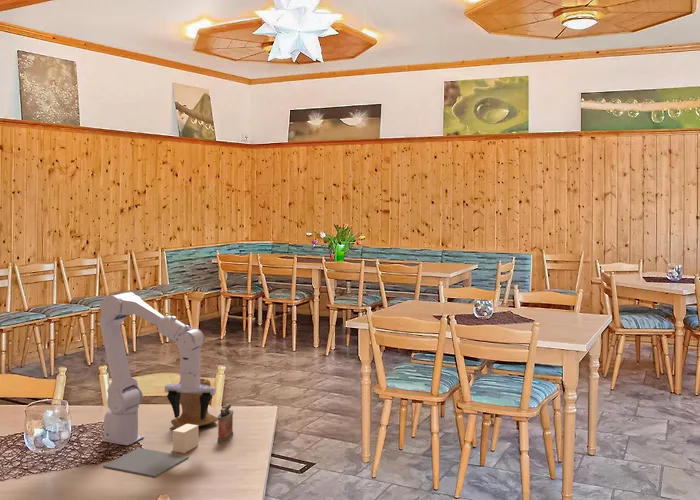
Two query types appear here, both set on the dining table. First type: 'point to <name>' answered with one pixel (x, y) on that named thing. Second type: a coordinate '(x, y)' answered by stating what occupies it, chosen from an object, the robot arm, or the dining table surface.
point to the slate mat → (146, 462)
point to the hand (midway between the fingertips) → (190, 417)
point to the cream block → (185, 438)
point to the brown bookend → (193, 409)
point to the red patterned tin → (225, 424)
